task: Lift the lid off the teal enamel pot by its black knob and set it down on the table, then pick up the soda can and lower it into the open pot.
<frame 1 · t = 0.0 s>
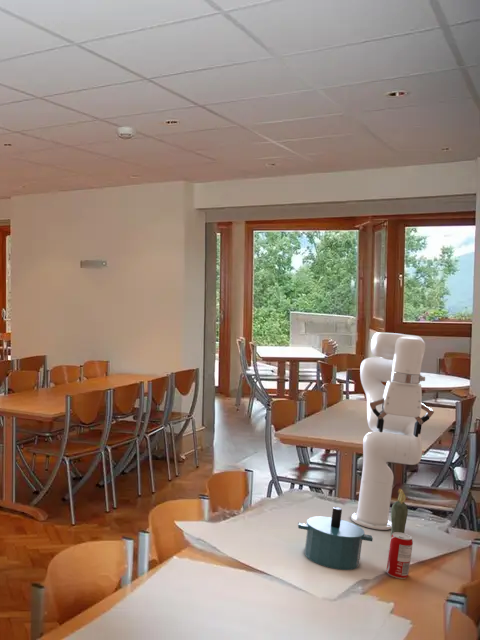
hand: (397, 433, 226), 37 cm above the table, tool pointing down, fingers open, 9 cm apart
lid: (335, 528, 219), point 9 cm above the table, touching pot
pot: (331, 558, 220), on the table
soda can: (396, 575, 212), on the table
vegetable: (393, 553, 228), on the table
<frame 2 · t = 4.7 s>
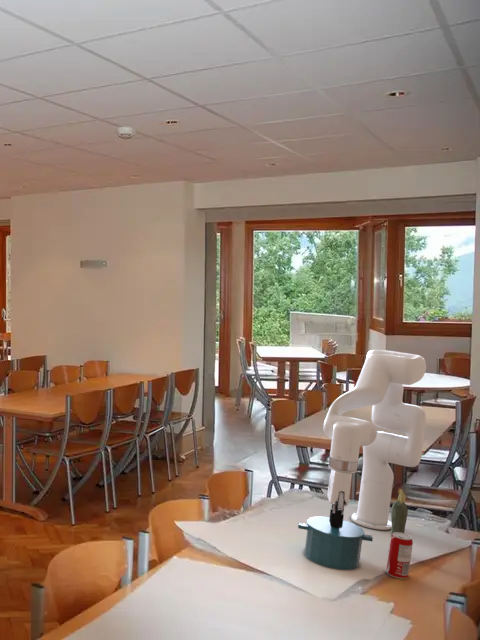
hand: (335, 524, 219), 11 cm above the table, tool pointing down, fingers closed on lid, 2 cm apart
lid: (335, 528, 219), point 10 cm above the table, touching gripper, pot
everything else where it was.
when the fingers open (2 cm above the table, at t = 13.0 s): lid stays where it is, point 1 cm above the table.
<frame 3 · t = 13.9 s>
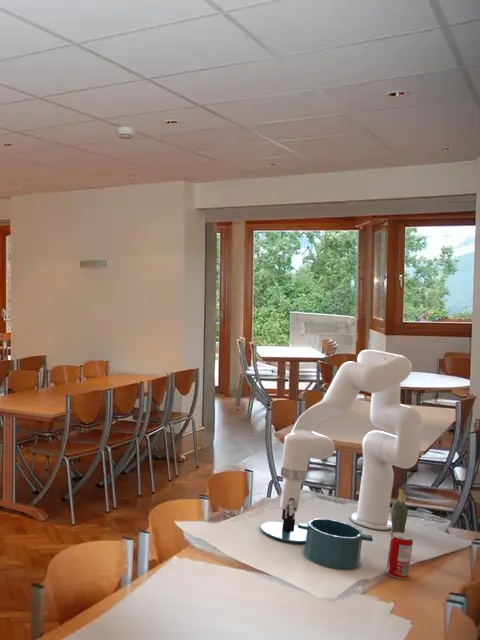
hand: (287, 525, 237), 3 cm above the table, tool pointing down, fingers open, 9 cm apart
lid: (286, 532, 237), point 1 cm above the table
everything else where it was.
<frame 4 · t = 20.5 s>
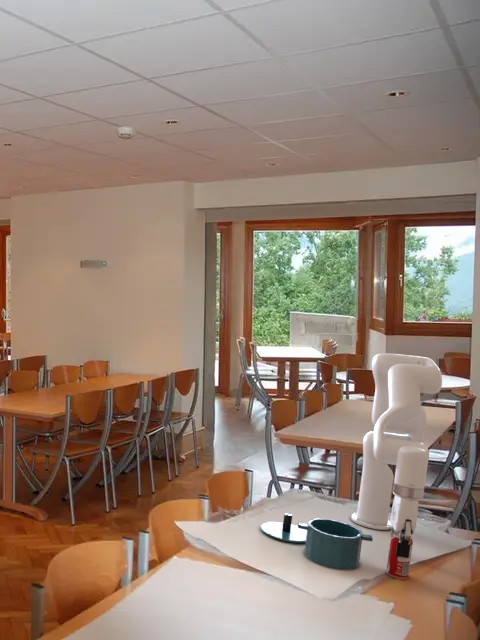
hand: (400, 551, 211), 7 cm above the table, tool pointing down, fingers closed on soda can, 5 cm apart
soda can: (396, 575, 212), on the table, touching gripper
everything else where it was.
when the fingers open (7 cm above the table, at t = 28.6 s): soda can stays where it is, resting on pot.
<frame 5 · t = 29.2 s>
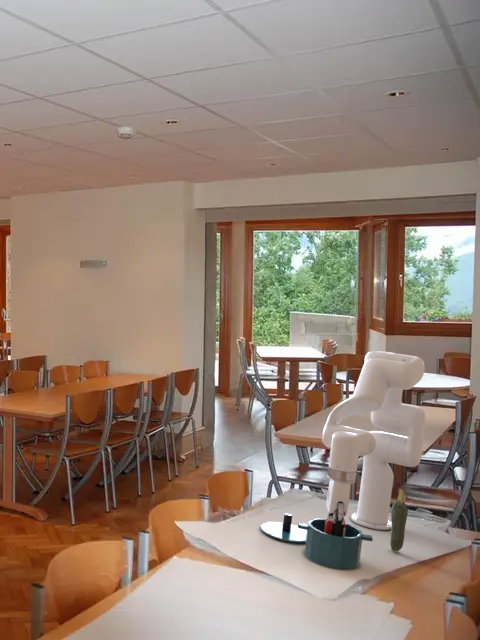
hand: (334, 530, 219), 9 cm above the table, tool pointing down, fingers open, 9 cm apart
soda can: (331, 557, 220), resting on pot
everything else where it was.
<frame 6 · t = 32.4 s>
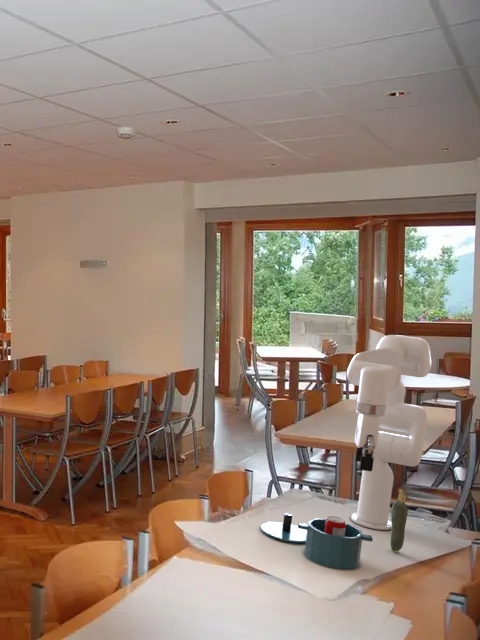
hand: (363, 465, 219), 28 cm above the table, tool pointing down, fingers open, 9 cm apart
nothing on the table moved.
at the end: lid inside the target area (0.1 cm from its centre), point 0.6 cm above the table; soda can inside the target area in the pot (0.1 cm from its centre), point 0.3 cm above the pot's base; soda can tilted 0° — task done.
